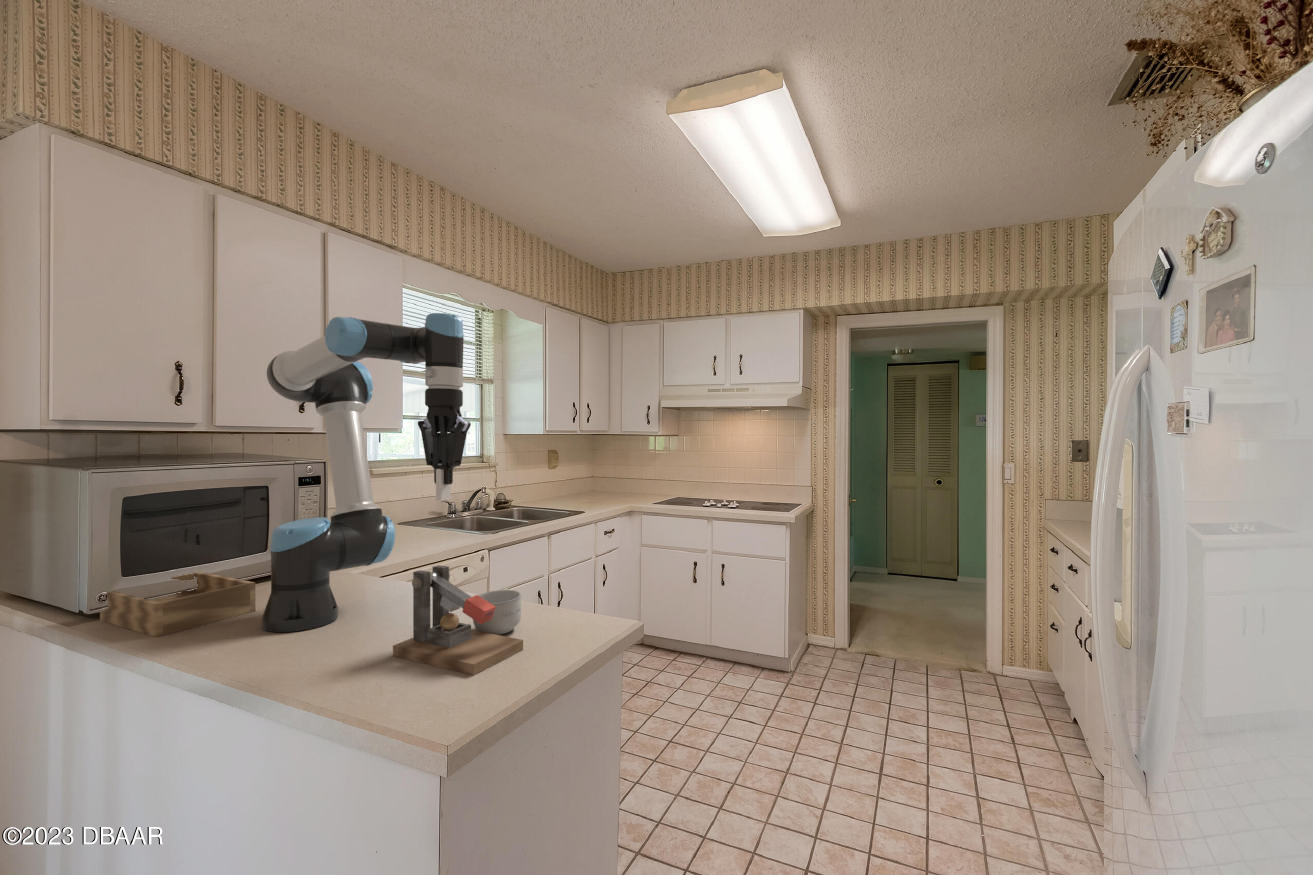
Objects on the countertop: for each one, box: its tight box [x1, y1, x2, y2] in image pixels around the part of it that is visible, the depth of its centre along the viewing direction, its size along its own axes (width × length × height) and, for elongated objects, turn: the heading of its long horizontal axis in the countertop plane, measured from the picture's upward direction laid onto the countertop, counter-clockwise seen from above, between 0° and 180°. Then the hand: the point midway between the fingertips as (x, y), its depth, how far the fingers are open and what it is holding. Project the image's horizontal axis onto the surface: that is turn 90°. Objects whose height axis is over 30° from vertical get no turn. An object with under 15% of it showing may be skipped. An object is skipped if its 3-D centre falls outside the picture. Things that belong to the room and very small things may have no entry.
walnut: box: [440, 612, 460, 631], centre depth 120 cm, size 4×4×4 cm
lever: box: [430, 571, 496, 624], centre depth 119 cm, size 17×3×5 cm, turn 65°
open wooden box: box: [99, 571, 256, 638], centre depth 142 cm, size 24×20×7 cm
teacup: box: [472, 587, 522, 636], centre depth 134 cm, size 14×11×8 cm
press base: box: [392, 564, 524, 676], centre depth 119 cm, size 21×14×16 cm, turn 64°
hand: (443, 499), depth 126 cm, fingers closed
